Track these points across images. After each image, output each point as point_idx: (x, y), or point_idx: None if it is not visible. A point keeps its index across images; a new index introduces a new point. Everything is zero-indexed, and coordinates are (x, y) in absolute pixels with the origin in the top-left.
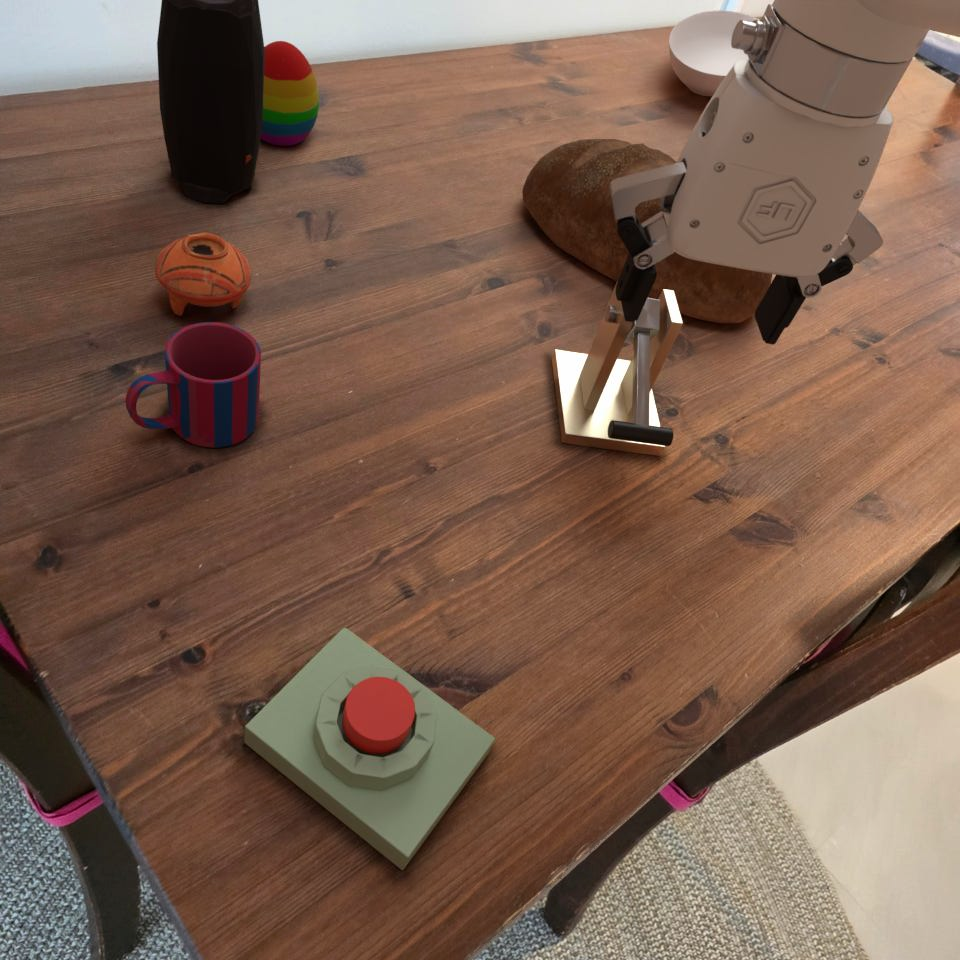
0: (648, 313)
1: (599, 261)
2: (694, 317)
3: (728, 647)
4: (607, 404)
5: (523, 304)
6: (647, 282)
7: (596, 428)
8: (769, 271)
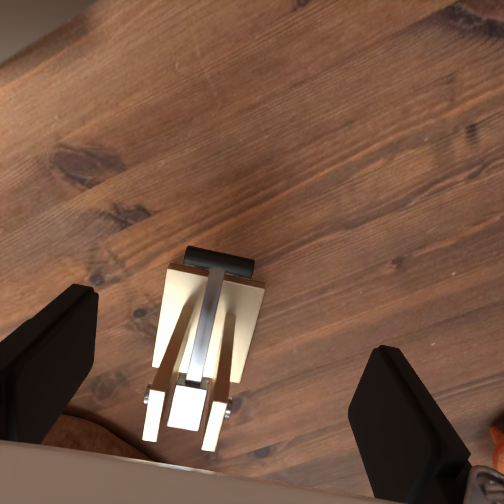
0: (186, 407)
1: None
2: (80, 418)
3: (177, 21)
4: None
5: (244, 431)
6: (444, 425)
7: (231, 293)
8: (131, 465)
